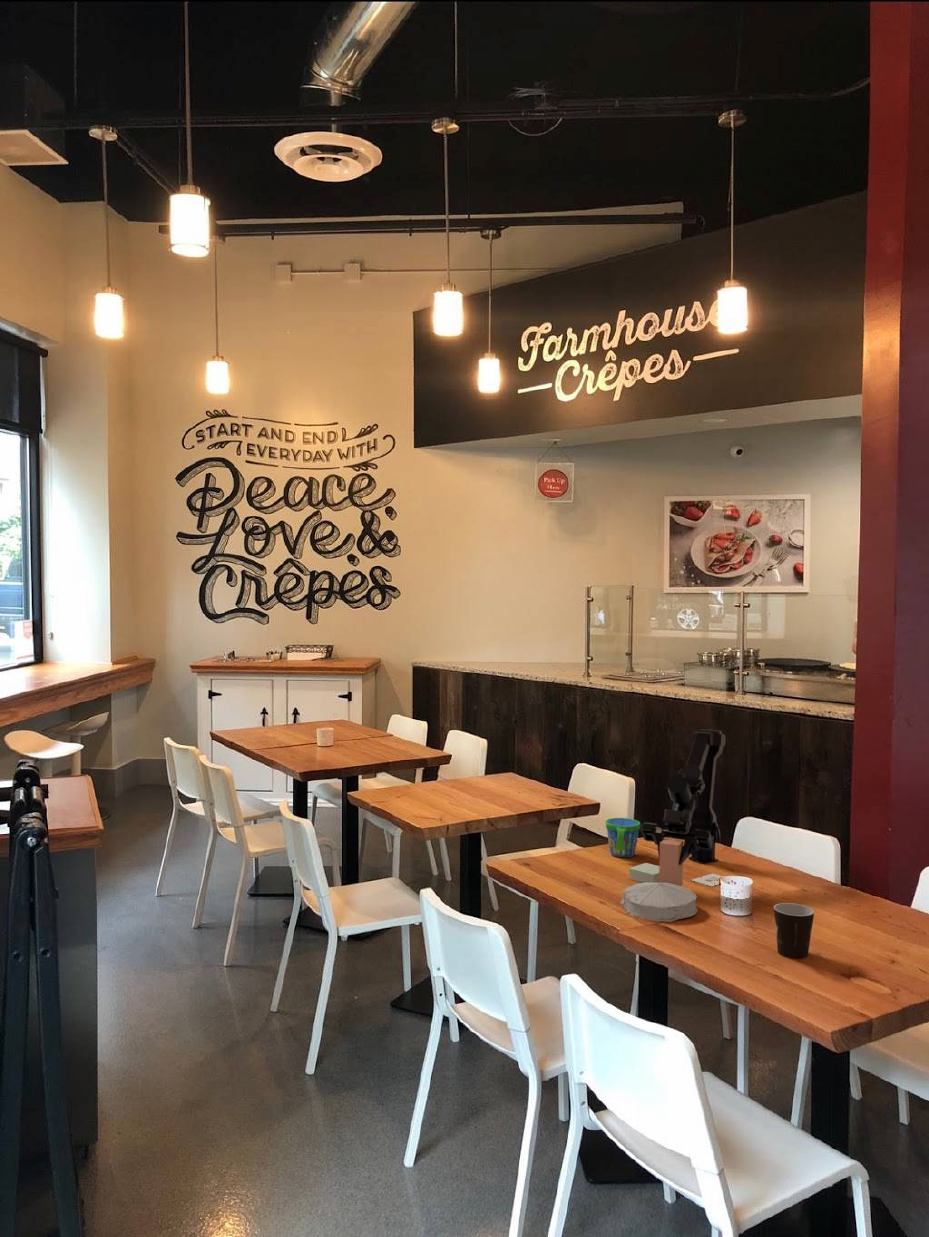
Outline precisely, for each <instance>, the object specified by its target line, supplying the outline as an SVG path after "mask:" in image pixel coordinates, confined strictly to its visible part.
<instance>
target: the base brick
mask: <svg viewBox="0 0 929 1237" xmlns="http://www.w3.org/2000/svg"><path fill="white" fill-rule="evenodd" d="M628 870H629V875H628V878H629V880H630V881H631V880H632V881H635V882H638V883H644V882H646V883H650V882H652V883H654V882H656V883H659V865H655V864H651V863H647V862H644V863H641V864H637V865H635V866H633V867H630V868H629V869H628Z"/></svg>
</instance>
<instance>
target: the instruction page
mask: <svg viewBox="0 0 929 1237" xmlns="http://www.w3.org/2000/svg"><path fill="white" fill-rule="evenodd" d="M701 877H702V878H701ZM720 877H724V876H722V875H719V874H716V873H710V874H706V875H704V876H703V875H702V876H700V877H696V878H692V879H691V880H692V881H691V882H693V881H695V882H694V883H697V882H698V884H700V883H701V885H704V886H707V885H708V886H707V887H710V886H711V888H712V887H716V886H719V878H720ZM714 880H715V881H714ZM717 880H718V881H717ZM714 883H715V884H714ZM715 885H716V886H715Z"/></svg>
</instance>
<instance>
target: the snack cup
mask: <svg viewBox="0 0 929 1237" xmlns="http://www.w3.org/2000/svg"><path fill="white" fill-rule="evenodd" d="M605 828H606V830H607V833H606V834H607V840H608V848H609V853H610V854H611V856H615V857H617V858H631V857H634V855H636V850H637V844H638V838H639V831H640V830H641V822H640V821H639V820H636V819H633V818H629V817H628V818H626V817H613V818H608V819H606V820H605Z"/></svg>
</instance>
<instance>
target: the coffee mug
mask: <svg viewBox="0 0 929 1237" xmlns="http://www.w3.org/2000/svg"><path fill="white" fill-rule="evenodd" d="M773 914H774V915H773V916H774V925H775V936H776V944H777V948H776V949H777V953H778V954H779V955H780V956H782V957H784V958H788V959H795V960H803V959H807V958H808V957H809V949H810V944H811V943H810V942H811V935H812V930H813V924H814V915H815V910H814V909H813V908H811V907H810V906H807V905H805V904H804V905H803V904H801V903H800V904H799V903H794V902H793V903H792V902H783V903H777V904H774V906H773Z"/></svg>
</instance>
